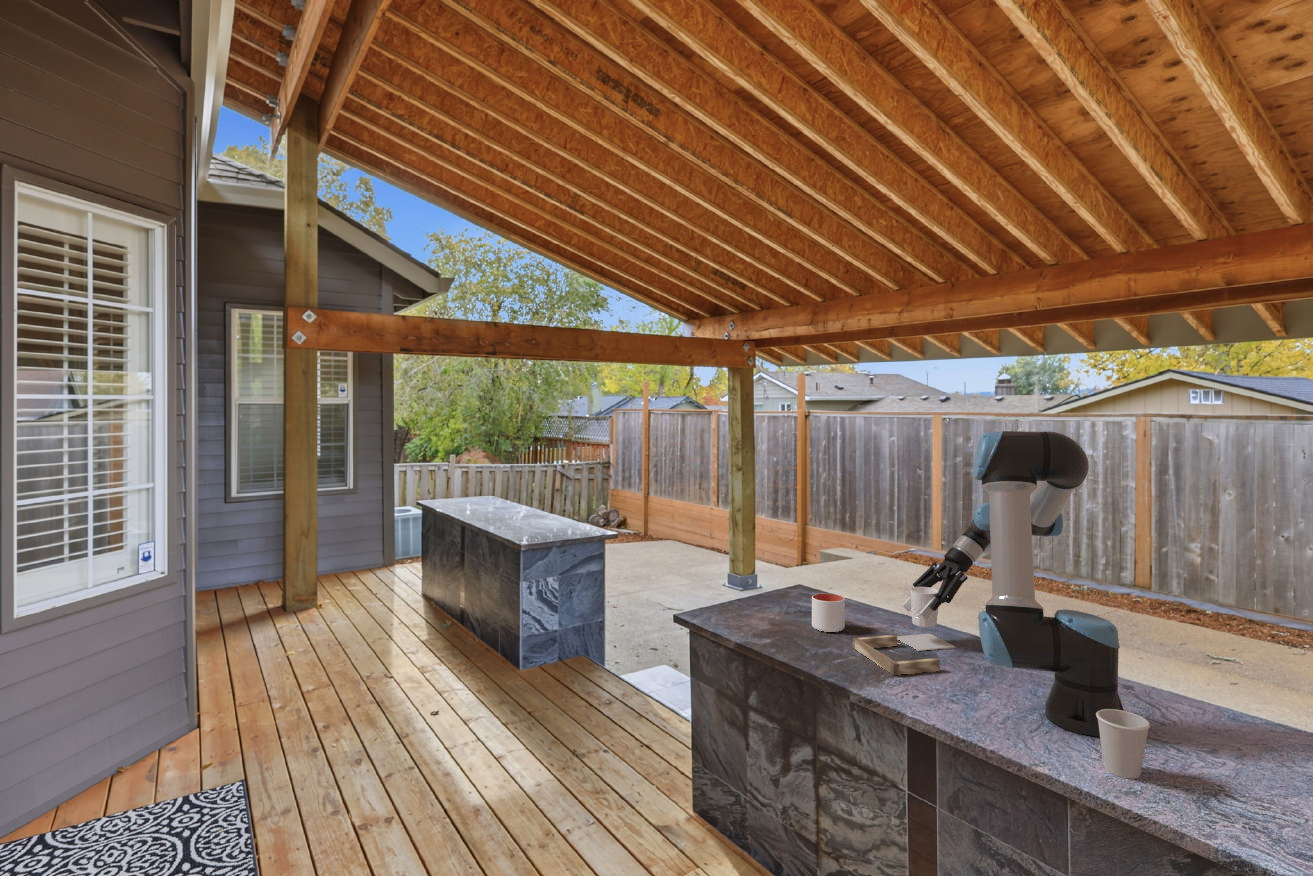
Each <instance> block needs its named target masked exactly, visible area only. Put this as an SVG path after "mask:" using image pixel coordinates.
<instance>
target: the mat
mask: <svg viewBox="0 0 1313 876" xmlns="http://www.w3.org/2000/svg"><path fill="white" fill-rule="evenodd" d="M896 636H897V635H896ZM898 640H900V641H901V643H902V642H903V643H902V644H904V643H905V644H904V645H906V644H907V645H909V646H911V647H913V648H914V649H916V650H917V652H918V651H921V652H927V651H926V650H931V651H938V650H937V649H940V650H939V651H941V649H942V650H950V649H956V646H955V645H953V644H952V643H949V642H947V641H946V640H943V639H941V638H939V637H937V636H935V635H933V634H931V633H922V634H910V635H909V634H908V635H898V636H897V641H898ZM900 641H899V642H900ZM907 645H906V646H907ZM909 646H908V647H909ZM911 647H910V648H911ZM913 648H912V649H913ZM914 649H913V650H914ZM916 650H915V651H916Z"/></svg>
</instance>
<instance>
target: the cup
mask: <svg viewBox="0 0 1313 876" xmlns="http://www.w3.org/2000/svg"><path fill="white" fill-rule="evenodd" d="M845 601H846V598H845V597H844V596H842V595H839V594H837V593H836V594H835V593H825V592H824V593H816V594H813V595H812V596H811V626H812V627H813V629H814V630H816V629H817V630H816V631H818V630H819V631H818V632H821V631H824V632H823V633H826V632H836V633H839V631H840V632H841V631H844V629H845V624H846V622H845V619H846V616H845V614H846V613H845V612H846V608H845V607H846V605H845V604H846V602H845Z"/></svg>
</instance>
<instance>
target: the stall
mask: <svg viewBox="0 0 1313 876" xmlns="http://www.w3.org/2000/svg"><path fill="white" fill-rule="evenodd" d="M851 640H852V641H851V648H852V647H853V648H854V649H856V650H857V651H858V652H859V653H861V654H863V655H864V656H866V657H867V658H869V659H870V660H872V661H873V662H875V663H876V664H877V665H876V664H875V663H874V664H875V665H876V666H878V665H879V666H880V668H881V667H882V668H883V669H882V668H881V669H882V670H884V669H885V670H887V671H888V672H890V673H891V674H893V675H898V676H902V675H901V674H908V675H915V674H916V673H918V674H923V673H922V672H928V673H936V671H938V672H940V670H941V659H939V658H938V657H933V658H932V657H931V658H923V659H920V658H919V659H911V660H900V661H895V660H893V659H892V658H890V657H888V655H885V654H883V653H882V652H880V651H879V650H878V648H877V647H888V648H892V647H891V646H897V647H898V640H897V635H895V634H888V635H887V634H886V635H876V636H874V635H873V636H865V637H862V636H861V637H855V638H854V637H853V638H851ZM874 648H877V649H874ZM858 652H857V653H858ZM859 653H858V654H859ZM861 654H860V655H861ZM864 656H863V657H864ZM866 657H865V658H866ZM867 658H866V659H867ZM869 659H868V660H869ZM870 660H869V661H870ZM872 661H871V662H872ZM873 662H872V663H873ZM879 666H878V667H879ZM885 670H884V671H885ZM887 671H886V672H887ZM888 672H887V673H888ZM890 673H889V674H890ZM891 674H890V675H891ZM893 675H892V676H893ZM916 675H917V674H916Z"/></svg>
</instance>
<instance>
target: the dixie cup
mask: <svg viewBox="0 0 1313 876" xmlns="http://www.w3.org/2000/svg"><path fill="white" fill-rule="evenodd" d="M1096 716H1097V718H1098V724H1099V732H1100V737H1099V738H1100V739H1099V740H1100V746H1101V755H1102V762H1103V768H1104V770H1105V771H1107V772H1108V773H1110V774H1111V775H1113V776H1115V777H1119V778H1123V779H1133V780H1134V779H1135V780H1136V779H1139V778H1140V777H1141V773H1142V768H1143V762H1144V756H1145V751H1146V747H1147V746H1146V743H1147V740H1148V739H1147V738H1148V733H1149V729H1150V728H1151V723H1150V722H1149V720H1147V719H1145V717H1143V716H1141V715H1139V714H1136V713H1133V712H1130V711H1126V710H1124V711H1122V710H1116V709H1103V710H1100V711H1098V712H1097V713H1096Z"/></svg>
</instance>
